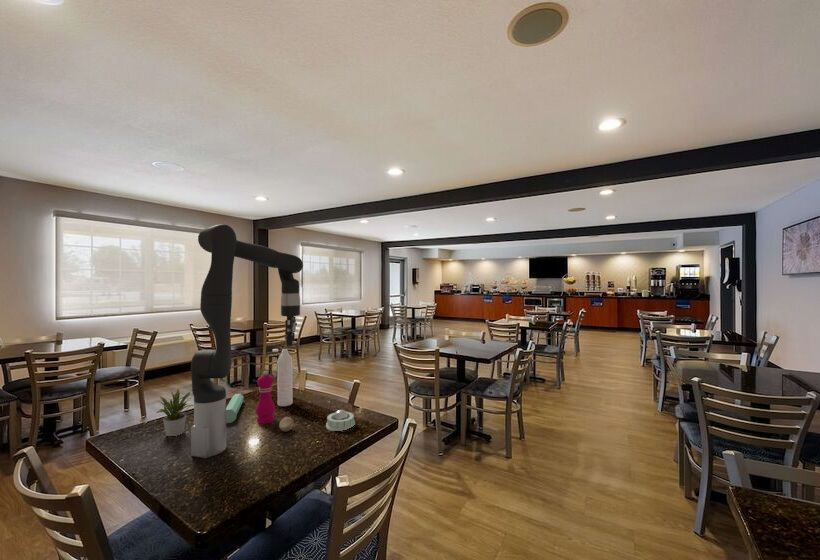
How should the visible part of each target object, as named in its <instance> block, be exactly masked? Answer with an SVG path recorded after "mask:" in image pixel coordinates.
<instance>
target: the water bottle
mask: <svg viewBox="0 0 820 560" xmlns="http://www.w3.org/2000/svg"><path fill="white" fill-rule="evenodd" d="M288 351H289V349H288V348H283V349H282V350H281V353H280V355H279V356H278V358H277V363H276V364H277V369H276V370H277V380H276V381H277V382H276V383H277V387H276V389H277V406H278V407H279V406H280V407H288V406H291V405H292V404H294V403H293V402H294V400H293V399H294V398H293V388H294V387H293V386H294V385H293V383H294V382H293V358H292V356H291V354H290V353H289V352H288ZM272 352H273V353H276V352H277V353H278V352H279V348H273V349H272Z"/></svg>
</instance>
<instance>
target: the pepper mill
mask: <svg viewBox="0 0 820 560" xmlns="http://www.w3.org/2000/svg"><path fill="white" fill-rule="evenodd" d="M274 382H275V381H274V377H273V376H272V375H270V374H269V372H268V370H264V371H263V373H262V375H260V376H259V377H258V378H257V386H258V392H259V399H258V402H257V405H256V406H255V407H256V408H255V414H256V415H257V417H256V422H257V424H261V425H266V424H269V423H273V422H274V421H275V415H274V414H275V411H276V404H275V402H274V400H273V398H272V391H273V384H274Z"/></svg>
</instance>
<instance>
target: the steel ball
mask: <svg viewBox="0 0 820 560" xmlns="http://www.w3.org/2000/svg"><path fill="white" fill-rule="evenodd" d="M346 412H347V411H346V410H344V409H339V410H337V411H335V412H334V413H335V415H334V419H335V420H344V419H347V413H346Z"/></svg>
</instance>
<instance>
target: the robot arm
mask: <svg viewBox="0 0 820 560" xmlns="http://www.w3.org/2000/svg"><path fill="white" fill-rule="evenodd" d="M197 242H198V244H199V246H200V247H201V249H202V250H204V251H205V252H207V253H211V261H210V267H209V269H208V272H207V274H206V276H205V279H204V280H203V284H202V286H201V290H200V291H201V292H200V303H199V304H200V306H199V307H200V312H201V315H202V317H203V319H204V321H206V323H207V325H208V326H209V328H210V329H211V331H212V334H213V337H214V339H215V348H216V349H200V350H198V351H196V352H195V353H194V354H193V356H192V358H191V362H190V375H191V394H192V393H193V394H192V395H193V404H194V405H193V425H192V426H191V427H190V435H191V436H190V438H191V439H190V443H191V444H190V446H191V447H190V448H191V449H190V451H191V452H190V453H191V454H190V455H191V457H197V458H200V459H201V458H202V459H208V458H210V457H214V456H216V455H219V454H221V453H223V452H224V451H225V450H226V449H227V423H226V407H227V391H226V388H225V386H223V385H219V384H217V383H215V382H213V381H212V380H211V379H224V378H226V377H228V376H229V374H230V371H231V368H232V342H231V340H232V338H231V324H232V323H231V322H232V321H231V317H232V307H233V306H232V305H233V303H232V302H233V277H234V276H233V275H234V274H233V273H234V264H235V263H234V262H235V258H239V259H243V260H246V261H250V262H252V263H253V262H254V263H255V264H256V263H257V264H259V265H263V266H265V267H269V268H273V269H277V271H278V276H279V279H280V283H281V295H280V315H281V316H282V317H286V319H285V321H284V325H285V326H284V328H285V333H284V334H285V336H286V346H292V345H293V342H294V341H296V340H295V335H296V334H295V332H296V327H297V325H296V324H297V319H296V317H298V316H301V295H300V281H299V280H298V279H296V278H295V277H294V275H293V274H297V273H300V272H301V271H302V270H303V268H304V263H303V260H302V259H301V258H300V257H298V256H297V255H293V254H291V253H286V252H280V251H278V250H276V249H273V248H271V247H267V246H265V245H260V244H257V243H255V244H254V243H252V242H251V243H249V242H245V241H241V240H238V239H237V234H236V232H235V230H234V229H233V227H231V226H230V225H228V224H225V223H223V224H216V225H212V226H209V227H205V228H204V229H202V230H201V231H200V232H199V234H198V237H197Z"/></svg>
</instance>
